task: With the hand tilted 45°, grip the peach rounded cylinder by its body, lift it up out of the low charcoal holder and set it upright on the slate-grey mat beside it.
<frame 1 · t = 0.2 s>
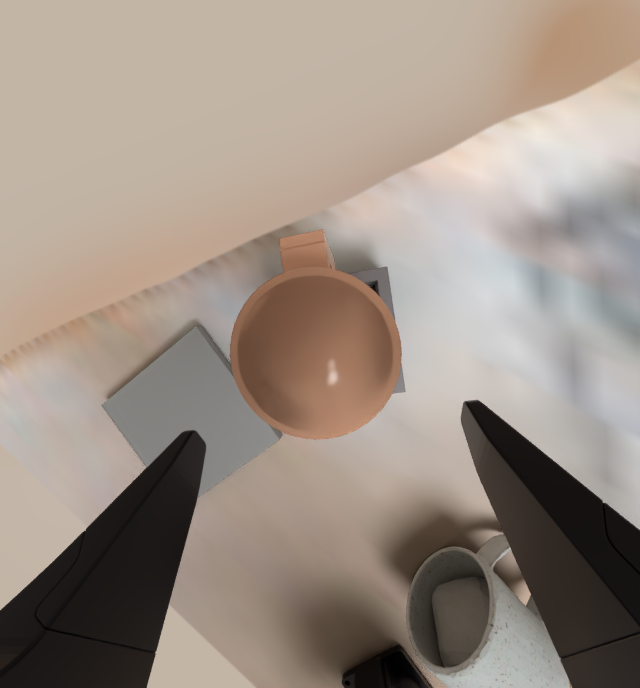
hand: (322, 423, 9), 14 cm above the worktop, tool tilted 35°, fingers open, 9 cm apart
ceramic mug: (472, 574, 24), on the worktop
mat: (193, 417, 26), on the worktop
peach rounded cylinder: (336, 337, 24), resting in holder
holder: (336, 337, 24), on the worktop
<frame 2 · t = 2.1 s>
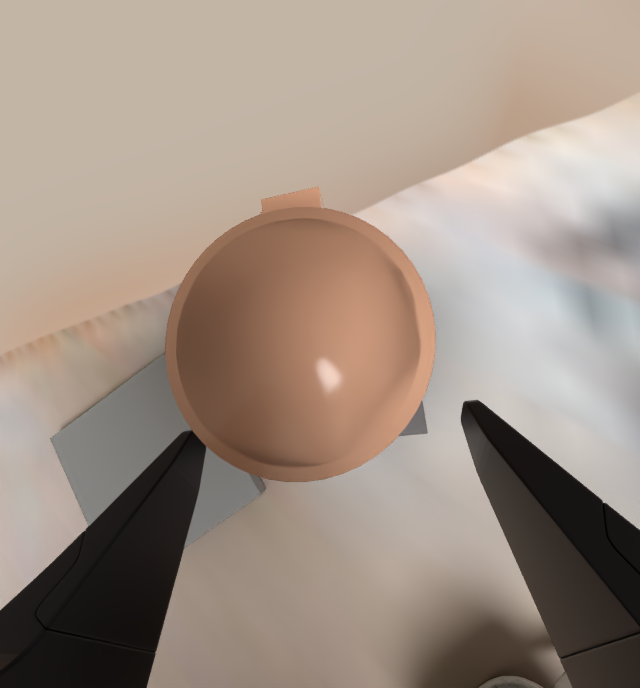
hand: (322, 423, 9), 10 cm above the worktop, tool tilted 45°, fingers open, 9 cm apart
mat: (157, 460, 21), on the worktop
peach rounded cylinder: (339, 364, 19), resting in holder
holder: (339, 364, 19), on the worktop
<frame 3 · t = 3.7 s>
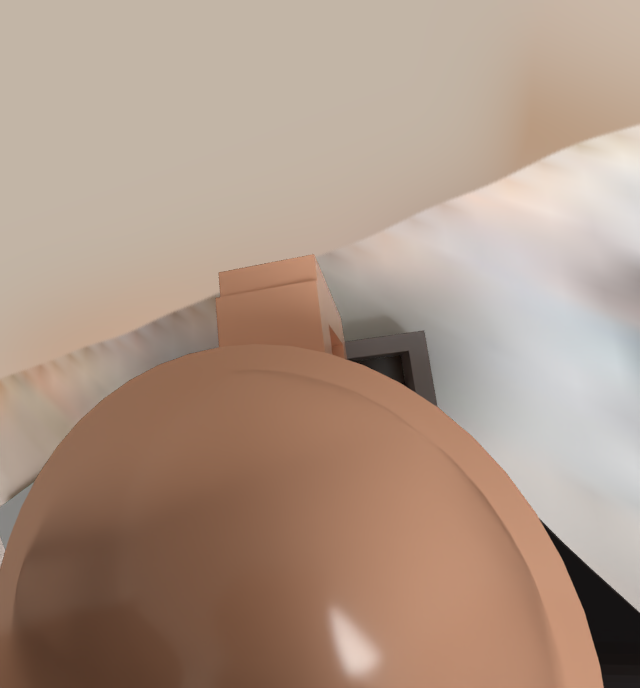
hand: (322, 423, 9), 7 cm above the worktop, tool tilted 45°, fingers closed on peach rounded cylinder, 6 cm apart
mat: (121, 542, 17), on the worktop
peach rounded cylinder: (343, 429, 16), resting in holder, touching gripper
holder: (343, 429, 16), on the worktop
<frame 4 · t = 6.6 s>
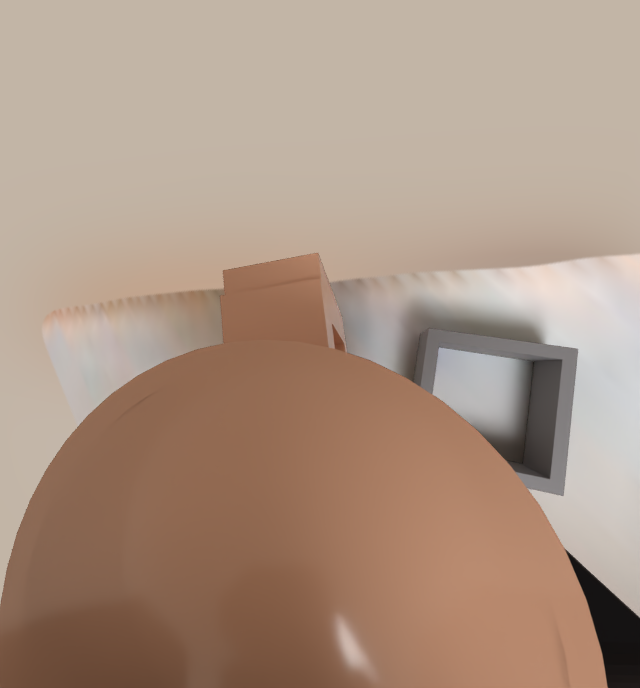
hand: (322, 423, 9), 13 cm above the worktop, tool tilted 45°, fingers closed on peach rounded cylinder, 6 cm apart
peach rounded cylinder: (343, 429, 16), point 7 cm above the worktop, touching gripper
holder: (474, 402, 21), on the worktop
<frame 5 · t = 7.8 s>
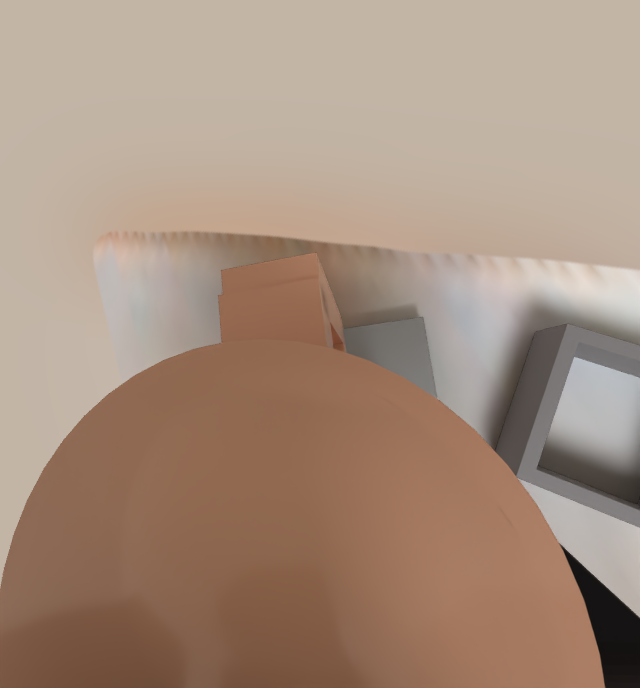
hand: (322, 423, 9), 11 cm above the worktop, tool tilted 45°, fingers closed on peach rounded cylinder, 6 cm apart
mat: (347, 414, 20), on the worktop
peach rounded cylinder: (343, 429, 16), point 4 cm above the worktop, touching gripper
holder: (588, 422, 18), on the worktop
when the fingers open (9 cm above the worktop, at t = 9.1 s): peach rounded cylinder drops 1 cm, resting on mat.
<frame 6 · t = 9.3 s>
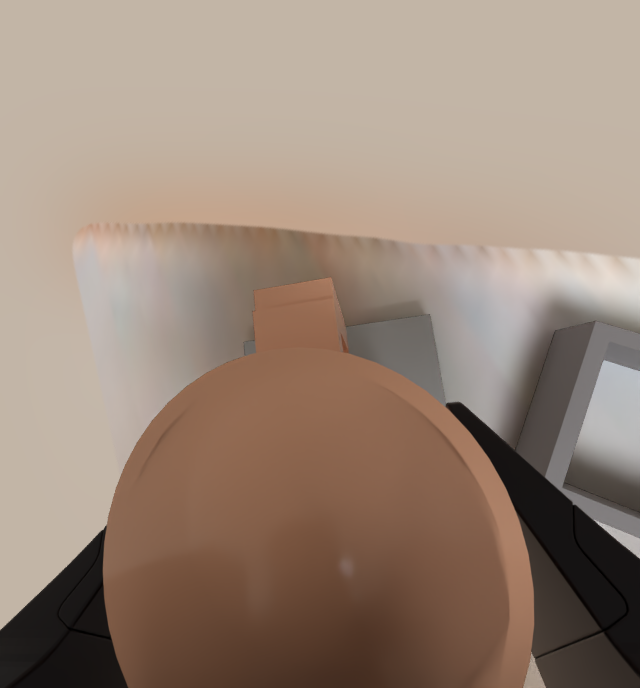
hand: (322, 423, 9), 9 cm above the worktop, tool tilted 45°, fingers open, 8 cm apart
mat: (346, 422, 18), on the worktop
peach rounded cylinder: (345, 428, 17), point 1 cm above the worktop, touching mat
holder: (617, 432, 16), on the worktop
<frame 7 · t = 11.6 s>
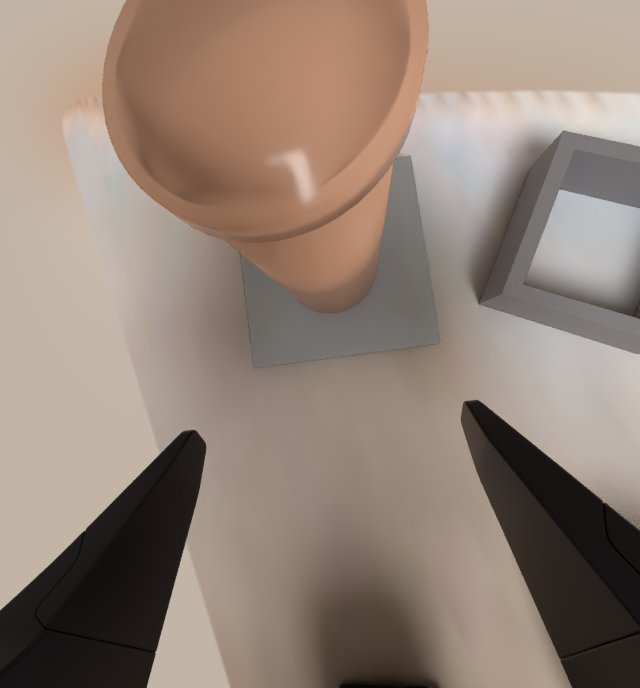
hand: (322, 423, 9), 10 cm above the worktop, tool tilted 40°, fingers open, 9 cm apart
mat: (331, 269, 19), on the worktop
peach rounded cylinder: (330, 267, 18), point 1 cm above the worktop, touching mat
holder: (581, 257, 17), on the worktop
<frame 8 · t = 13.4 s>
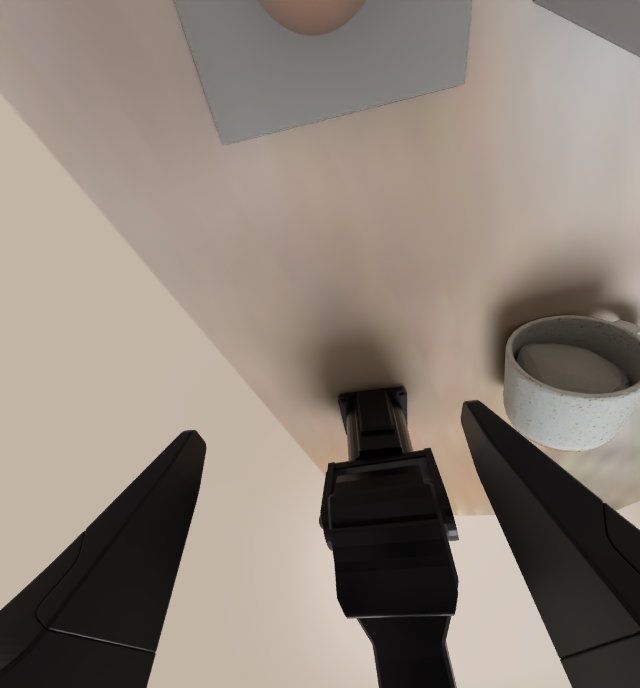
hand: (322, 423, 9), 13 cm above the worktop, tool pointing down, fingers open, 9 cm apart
ceramic mug: (551, 346, 24), on the worktop
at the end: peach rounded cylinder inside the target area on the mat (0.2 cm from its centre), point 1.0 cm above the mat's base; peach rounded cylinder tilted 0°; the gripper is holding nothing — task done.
